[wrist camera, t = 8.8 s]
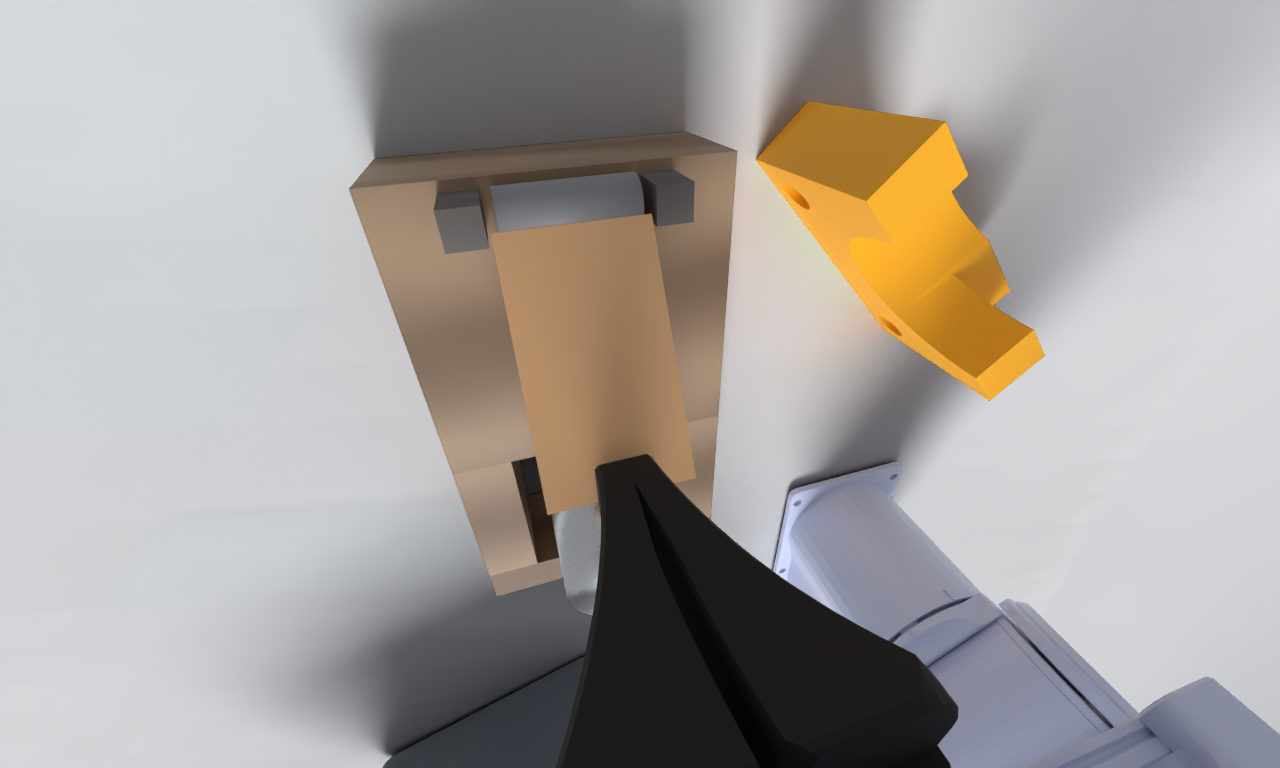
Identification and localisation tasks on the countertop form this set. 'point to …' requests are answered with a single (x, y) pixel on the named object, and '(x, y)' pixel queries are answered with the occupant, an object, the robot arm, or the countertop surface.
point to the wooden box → (478, 324)
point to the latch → (589, 330)
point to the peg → (579, 553)
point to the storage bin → (504, 730)
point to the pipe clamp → (903, 236)
